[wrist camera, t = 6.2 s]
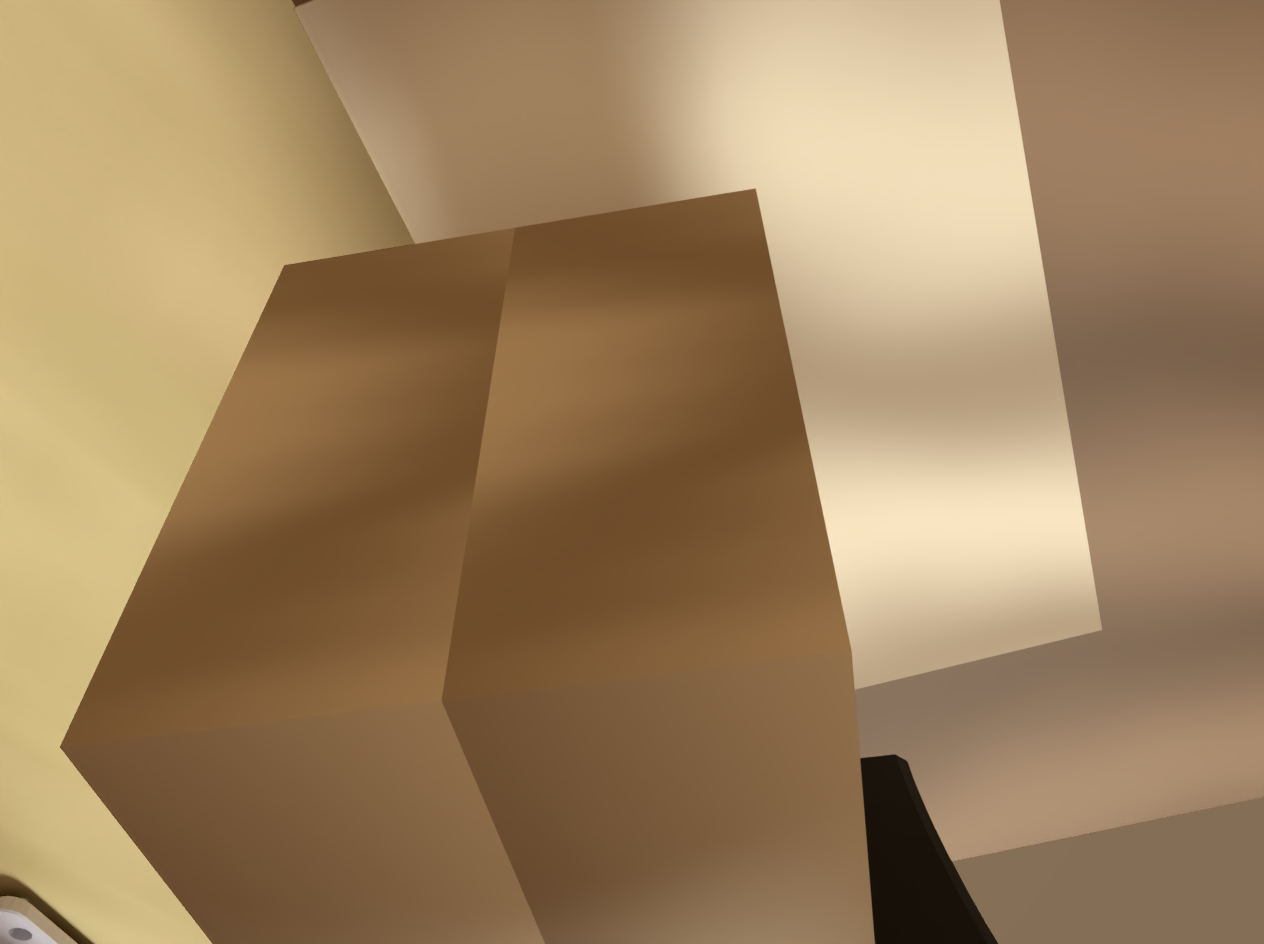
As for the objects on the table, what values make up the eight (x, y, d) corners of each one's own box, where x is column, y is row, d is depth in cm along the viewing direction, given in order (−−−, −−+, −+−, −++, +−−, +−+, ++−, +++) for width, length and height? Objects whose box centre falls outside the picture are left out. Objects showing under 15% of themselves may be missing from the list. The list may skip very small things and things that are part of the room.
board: (1530, 695, 23) (1567, 739, 22) (753, 861, 26) (757, 905, 25) (1775, -875, 10) (1882, -921, 9) (228, -184, 14) (201, -169, 13)
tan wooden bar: (755, 187, 9) (852, 651, 5) (847, 997, 18) (911, 1407, 14) (283, 264, 10) (59, 747, 6) (593, 1020, 18) (585, 1424, 14)
